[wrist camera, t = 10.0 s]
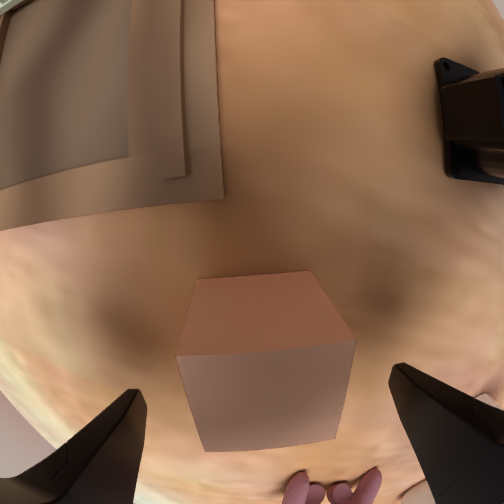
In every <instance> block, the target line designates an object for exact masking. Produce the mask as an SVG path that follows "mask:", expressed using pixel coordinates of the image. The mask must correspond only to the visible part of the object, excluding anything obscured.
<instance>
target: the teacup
mask: <svg viewBox="0 0 504 504" xmlns="http://www.w3.org/2000/svg"><path fill="white" fill-rule="evenodd" d="M401 504H435V500H434V498H433V495H432V493H431V490H430V488H429V485H428V483H427V480H424V481H422V482H420V483H419V484H417V485H415V486H414V487H412V488H411V489H409V490H408V491H407V492H406V493H405V495H404V496H403V498H402V501H401Z"/></svg>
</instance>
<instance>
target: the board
mask: <svg viewBox="0 0 504 504" xmlns="http://www.w3.org/2000/svg"><path fill="white" fill-rule="evenodd" d="M224 197H225V193H224V179H223V165H222V150H221V134H220V117H219V99H218V79H217V57H216V30H215V0H23V1H21V2H20V3H18V4H17V5H15V6H14V7H12V8H11V9H9V10H8V11H6V12H5V13H4V14H2V15H1V16H0V231H2V230H7V229H11V228H16V227H21V226H26V225H31V224H37V223H42V222H47V221H53V220H59V219H65V218H71V217H77V216H83V215H89V214H96V213H103V212H110V211H117V210H125V209H132V208H140V207H149V206H157V205H166V204H176V203H185V202H196V201H207V200H219V199H224Z"/></svg>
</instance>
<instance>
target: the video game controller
mask: <svg viewBox="0 0 504 504" xmlns="http://www.w3.org/2000/svg"><path fill="white" fill-rule="evenodd" d="M381 482H382V476H381V472H380V471H379V469H376V468H374V469H371V470H370V471H369V472H367V473H366V474H365V476H364V477H363V478H362V480H361V481H360V483H359V484H358V486H357V488H356V489H355V491H354V493H352V491H351V488H350V486H349V485H348V484H346V483H340V484H334V485H332V486H330V487H329V489H328V490H327V498H328V500H329V502H330V503H331V504H372V503H373V501H374V499H375V497H376V495H377V492H378V490H379V488H380V485H381ZM324 497H325V490H324V488H323V487H322V486H320V485H315V484H309V478H308V476H307V474H306V473H305V472H299V473H297V474H296V475H295V476H294V477H293V478H292V479H291V481H290V482H289V484H288V486H287V488H286V491H285V493H284V498H283V502H282V504H320V503H321V502H322V501H323V499H324Z"/></svg>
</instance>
